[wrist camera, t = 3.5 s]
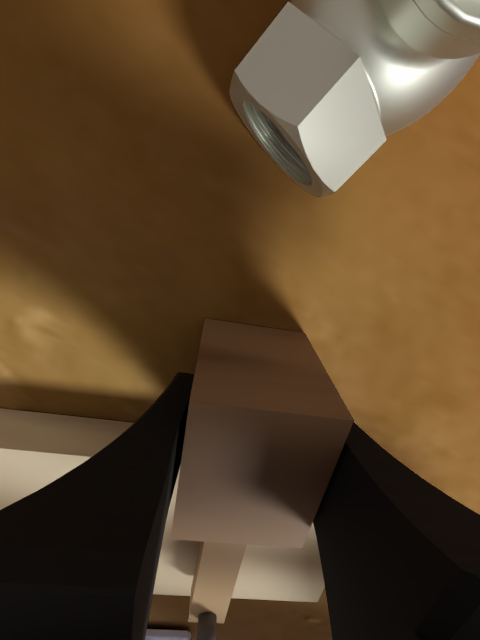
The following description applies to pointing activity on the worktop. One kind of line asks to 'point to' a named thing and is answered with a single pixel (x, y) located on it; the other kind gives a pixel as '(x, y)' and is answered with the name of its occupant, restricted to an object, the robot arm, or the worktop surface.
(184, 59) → the worktop surface
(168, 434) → the robot arm
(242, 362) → the mallet
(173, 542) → the board
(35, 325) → the worktop surface
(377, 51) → the valve
